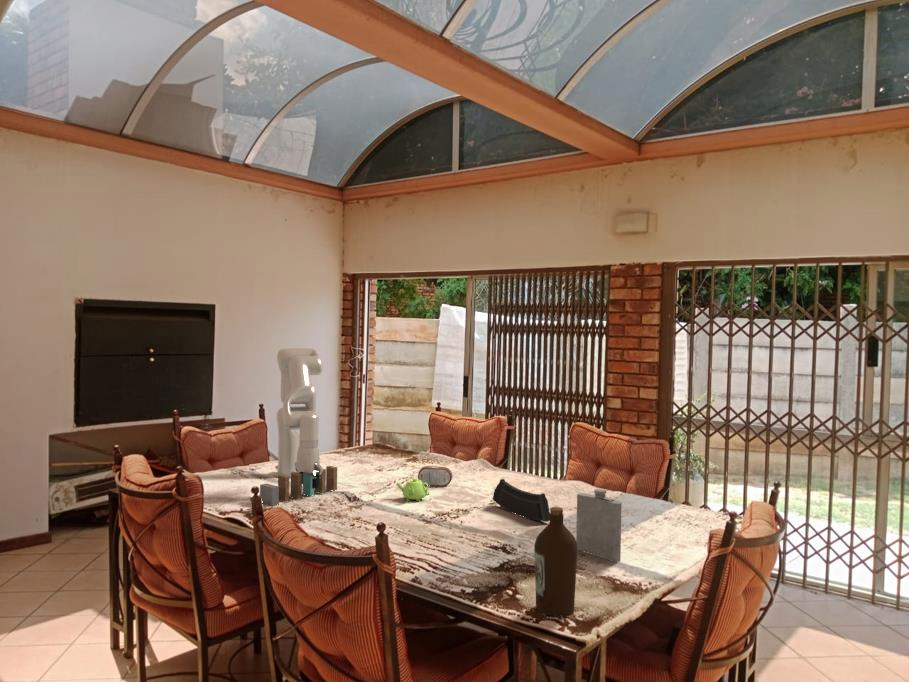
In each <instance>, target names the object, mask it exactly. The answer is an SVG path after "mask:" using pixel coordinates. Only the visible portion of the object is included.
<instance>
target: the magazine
mask: <svg viewBox="0 0 909 682" xmlns="http://www.w3.org/2000/svg"><path fill="white" fill-rule="evenodd" d="M492 495H493V497H492V501H494V503H496V504H498V505H499V508H500V507H502V508H503V509H504V510H506V511H508V512H509V511H510V513H511V512H513V513H516V514H518V515H517V516H519V515H521V516H524V517H526V518H525V519H528V518H529V519H528V520H534V521H540V522H545V523H546V522H550V513H551V511H550V507H549V500H548V499H547V497H546V494H545V493H532V492H528V491H525V490H522V489H520V488H518V487H515V486H514V485H512V484H510V483H509V482H507V481H506V479H504V478H501V479H500V480H499V483H498V484H497V485H496V487H495V488H494V491H493V494H492ZM513 513H512V514H513ZM516 514H515V515H516ZM521 516H520V517H521ZM524 517H523V518H524Z"/></svg>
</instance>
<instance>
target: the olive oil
mask: <svg viewBox="0 0 909 682" xmlns="http://www.w3.org/2000/svg"><path fill="white" fill-rule="evenodd" d="M549 512H550V521H549V522H548V524H547V525H546V527H544V528H543V529H542V530H541V532H539V534H538V535H537V536H536V539H535V542H534V550H533V551H534V570H535V573H534V578H535V579H534V580H535V609H536V610H537V611H538V612H539V613H541V614H543V615H546V616H551V617H565V616H569V615H571V614H573V613H574V611H575V600H576V599H575V598H576V583H577V582H576V581H577V568H578V567H577V566H578V552H579V551H578V546H577V542H576V536H574V535H573V533H572V532H571V531H570V530H569V529H568V528H567V526H565V523H564V508H563V507H561V506H560V507H559V506H555V507H554V506H553V507H549Z"/></svg>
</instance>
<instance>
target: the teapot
mask: <svg viewBox="0 0 909 682" xmlns="http://www.w3.org/2000/svg"><path fill="white" fill-rule="evenodd" d="M424 484H426V485H427V486H425V485H424ZM396 487H398V488H399V489H400V491H401V492H402V495H403V497H404V498H405V499H406V500H407V502H410V501H411V500H415V502H417V501H420V502H421V500H423V499H424V498H425V497H426V496H430V491H429V487H430V486H428V484H427V483H422V481H421V480H418V478H416V477H415V478H412V479H411V480H407V482H406V484H405V485H404V486H403V485H402V484H401V483H400V482H398V483H396ZM422 498H423V499H422Z"/></svg>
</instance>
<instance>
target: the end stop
mask: <svg viewBox="0 0 909 682" xmlns="http://www.w3.org/2000/svg"><path fill="white" fill-rule="evenodd" d="M260 497H261V498H262V501H263V503H264V505H266V504H268V506H270V505H272V506H271V507H274V506H279V504H280V502H279V501H280V500H279V487H278V485H274V484H271V483H267V482H266V483H261V484H260V485H259V498H260ZM263 503H262V504H263ZM277 504H278V505H277Z"/></svg>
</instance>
